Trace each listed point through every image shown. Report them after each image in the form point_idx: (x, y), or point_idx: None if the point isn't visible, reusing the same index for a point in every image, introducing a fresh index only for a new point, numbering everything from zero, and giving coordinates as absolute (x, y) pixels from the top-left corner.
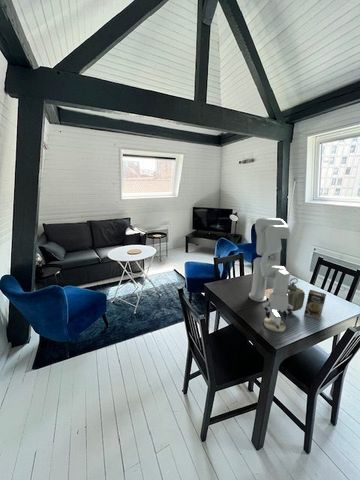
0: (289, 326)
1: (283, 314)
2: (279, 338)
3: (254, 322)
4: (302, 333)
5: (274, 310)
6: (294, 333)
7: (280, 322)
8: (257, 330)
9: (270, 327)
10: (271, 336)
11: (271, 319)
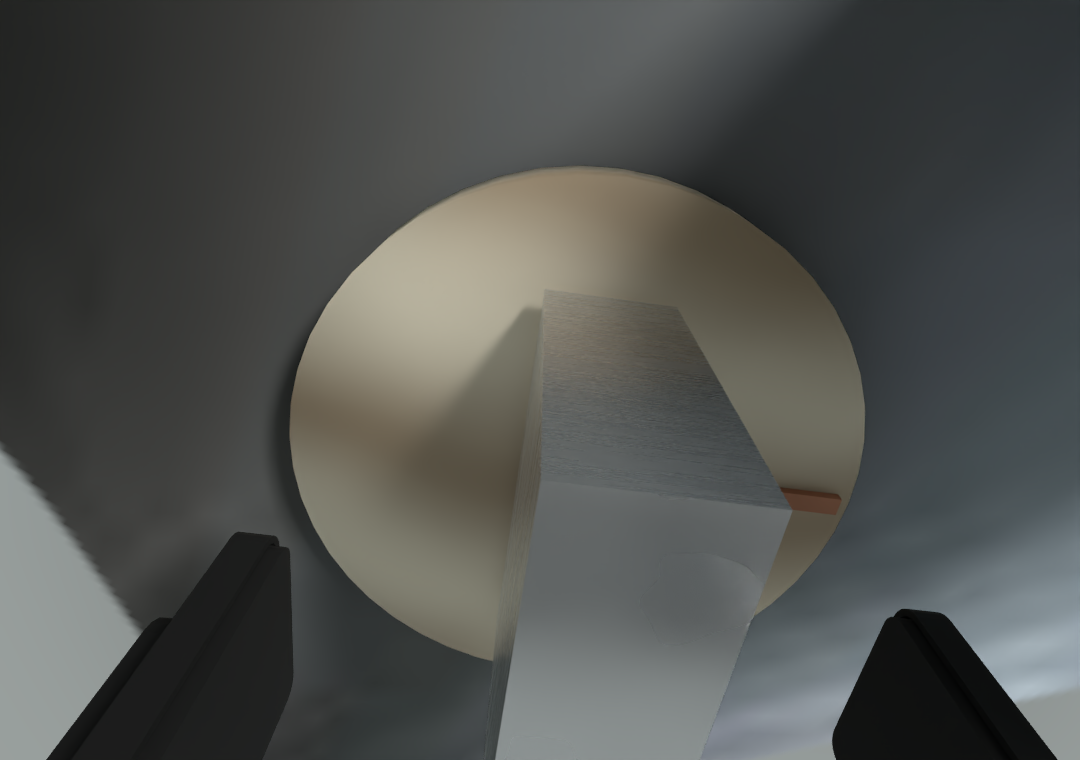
0: (930, 485)
1: (941, 739)
2: (475, 744)
3: (63, 310)
4: (1018, 669)
5: (669, 554)
6: (853, 663)
7: (760, 452)
8: (104, 568)
9: (380, 606)
10: (348, 704)
11: (532, 381)
